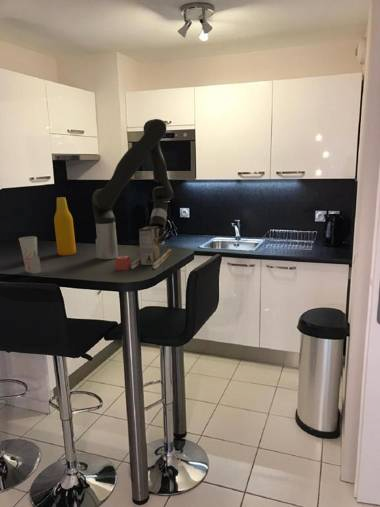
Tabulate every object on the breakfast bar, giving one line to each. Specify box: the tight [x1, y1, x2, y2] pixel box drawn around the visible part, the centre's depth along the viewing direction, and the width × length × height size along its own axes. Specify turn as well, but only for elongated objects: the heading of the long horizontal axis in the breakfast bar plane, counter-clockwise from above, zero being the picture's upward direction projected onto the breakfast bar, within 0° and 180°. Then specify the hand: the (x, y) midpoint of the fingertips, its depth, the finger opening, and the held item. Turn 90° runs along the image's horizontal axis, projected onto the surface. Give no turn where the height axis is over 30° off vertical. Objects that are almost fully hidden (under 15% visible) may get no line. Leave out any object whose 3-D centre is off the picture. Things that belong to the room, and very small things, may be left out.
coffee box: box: [138, 225, 161, 266], centre depth 186 cm, size 9×6×16 cm
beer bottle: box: [53, 196, 77, 257], centre depth 210 cm, size 9×9×29 cm
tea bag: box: [23, 249, 42, 275], centre depth 179 cm, size 4×7×10 cm, turn 50°
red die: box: [114, 255, 132, 271], centre depth 178 cm, size 5×5×5 cm
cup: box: [18, 235, 38, 260], centre depth 196 cm, size 8×8×12 cm
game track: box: [130, 248, 173, 270], centre depth 191 cm, size 11×30×2 cm, turn 169°
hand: (153, 249), depth 191 cm, fingers closed
